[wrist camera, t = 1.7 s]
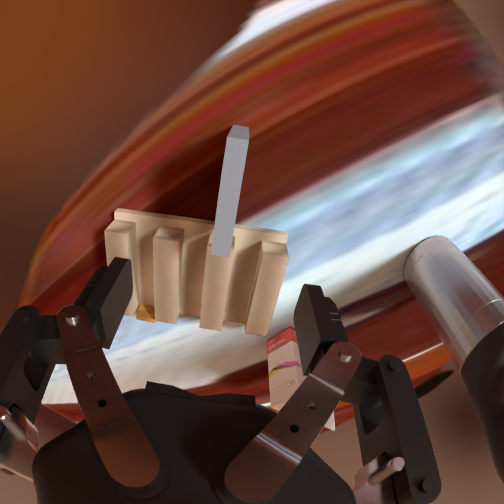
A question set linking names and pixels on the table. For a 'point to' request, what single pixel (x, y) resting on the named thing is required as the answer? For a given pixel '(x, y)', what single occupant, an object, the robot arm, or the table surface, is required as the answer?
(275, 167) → the table surface
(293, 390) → the ink cartridge box
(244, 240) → the rack
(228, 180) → the panel
